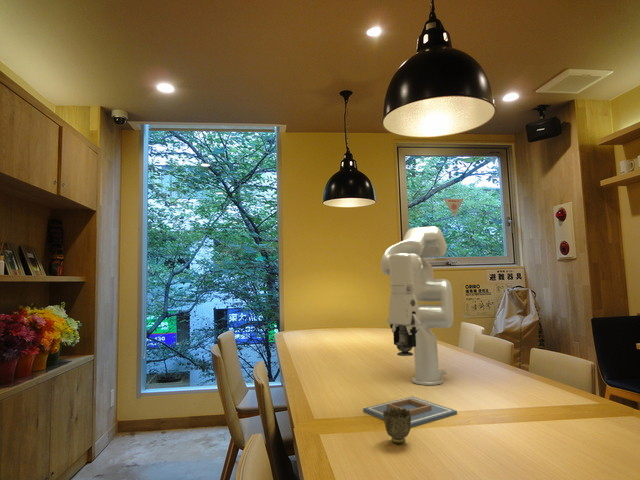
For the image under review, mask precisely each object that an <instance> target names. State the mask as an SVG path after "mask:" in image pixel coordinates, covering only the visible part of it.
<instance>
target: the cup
mask: <svg viewBox="0 0 640 480" xmlns="http://www.w3.org/2000/svg"><path fill="white" fill-rule="evenodd" d="M409 412H410V411H409V410H408V411H407V410H406V409H405V408H404V409H402V410H400V408H398V410H396V409H395V408H393V409H392V408H391V409H390V410H389V411H388V410H386V411H383V416H384V420H383V421H384V427H385V431H386V433H387V435H388V436H389V437H390V438H391V439H390V440H391V442H392V444H393V445H398V446H400V445H404V444H405V443H406V438H407V437H408V435H409V434H410V431H411V428H410V425H411V413H409Z"/></svg>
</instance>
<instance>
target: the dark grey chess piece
mask: <svg viewBox="0 0 640 480" xmlns="http://www.w3.org/2000/svg"><path fill="white" fill-rule="evenodd" d="M407 335H409V334H408V331H407V328H406V326H403V325H399V336H400V339H399V342H397V343H396V345H395V346H396V348H397V350H398V351H399V352H397V353H396V356H399V357H410V356H414V352H411V351H412V350H413V349H414V347H411V348H409V347H408V346H407Z"/></svg>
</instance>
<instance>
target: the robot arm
mask: <svg viewBox="0 0 640 480" xmlns="http://www.w3.org/2000/svg"><path fill="white" fill-rule="evenodd" d="M446 253H447V241H446V240H445V237H444V234H443V232H442V231H441V229H440V228H439V227H437V226H435V225H433V226H431V225H430V226H419V227H418V226H416V227H412V228H410V229H408V230H407V231H406V232H405V235H404V237H403V239H402V241H400V242H397V243H396V244H393V245H391V246H390V247H388V248H387V249H385V251H384V252H383V255H382V256H381V261H380V270H381V272H382V273H383V274H384V275H385V276H389V284H390V294H389V295H390V296H389V302H388V303H389V304H388V305H389V306H388V307H389V308H388V309H389V310H388V312H389V317H388V318H387V320H386V322H387V324H388V325H389V327H390V329H391V333H392V334H393V345H395V346H397V345H396V343H397V342H399V339H400V336H399V325H403V326H406V328H407V331H408V334H409V335H407V346H408V347H409V348H411V347H413V356H414V371H415V372H414V373H415V376H413V377H412V378H411V381H412V383H414V384H417V385H422V386H435V385H436V386H437V385H440V384H443V383H444V378H443V377H441V376H442V375H446V374H447V370H446V369H440V368H439V353H438V338H437V337H436V335H435V333H434V332H433V331H432V330H431V329H434V328H435V329H447V328H448V329H449V328H451V327H452V326H453V324H454V320H455V319H454V317H455V316H454V301H453V296H454V295H453V287H452V283H451V282H450V281H449V280H448V279H445V278H434V269H433V266H432V265H431V263H430V262H429V261H428V260H427V259H426V258H440V257H443V256H445V255H446ZM418 302H423V303H424V302H425V303H427V302H429V303H430V302H432V303H433V302H435V303H436V302H439V303H441V304H418Z"/></svg>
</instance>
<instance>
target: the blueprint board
mask: <svg viewBox="0 0 640 480" xmlns="http://www.w3.org/2000/svg"><path fill="white" fill-rule="evenodd" d="M391 408H392V409H393V408H395V409H396V410H398V408H400V410H402V409H404V408H405V409H406V410H407V411H408V410H409V411H410V412H409V413H411V425H410V429H411V428H415V427H418V426H421V425H422V426H423V425H425V424H428V423H431V422H434V421H439V420H442V419H445V418H449V417H452V416H455V415H458V411H457V410H455V409H452V408H449V407H446V406H443V405H440V404H436V403H434V402H430V401H427V400H425V399H421V398H419V397H415V396H413V395H412V396H408V397H404V398H399V399H396V400H392V401H387V402H384V403H379V404H375V405H371V406H367V407H363V408H362V412H364V413H366V414H369V415H370V416H373V417H375V418H377V419H381V420H382V421H384V416H383V411H386V410H388V411H389V410H390V409H391Z"/></svg>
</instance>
